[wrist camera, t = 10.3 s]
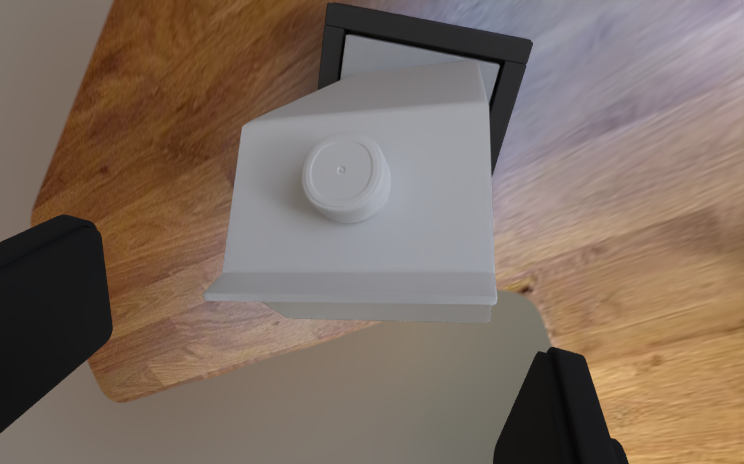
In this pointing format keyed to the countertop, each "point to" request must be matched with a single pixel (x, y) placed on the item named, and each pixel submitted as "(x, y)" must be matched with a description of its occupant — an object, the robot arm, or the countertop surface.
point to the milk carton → (368, 201)
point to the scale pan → (403, 58)
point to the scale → (435, 37)
